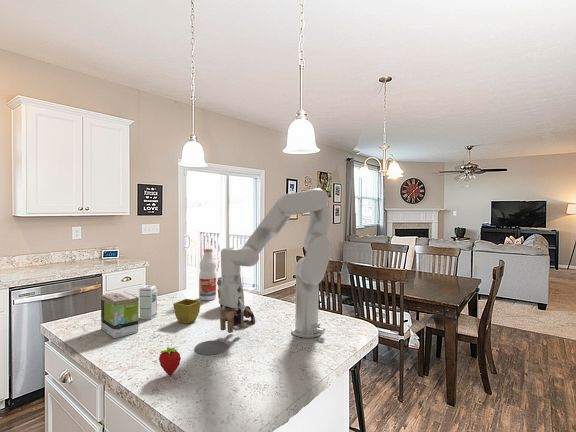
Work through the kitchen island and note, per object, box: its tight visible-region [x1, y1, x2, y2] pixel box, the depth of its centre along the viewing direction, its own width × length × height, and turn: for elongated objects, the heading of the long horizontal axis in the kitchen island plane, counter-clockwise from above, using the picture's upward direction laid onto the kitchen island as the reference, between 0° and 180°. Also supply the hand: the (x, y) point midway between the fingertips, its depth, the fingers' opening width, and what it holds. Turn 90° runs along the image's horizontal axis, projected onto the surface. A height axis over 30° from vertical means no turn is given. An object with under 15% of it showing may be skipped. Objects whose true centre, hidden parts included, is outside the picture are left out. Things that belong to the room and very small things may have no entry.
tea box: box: [100, 291, 140, 339], centre depth 139 cm, size 15×10×15 cm
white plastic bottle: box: [198, 248, 217, 302], centre depth 189 cm, size 9×9×28 cm
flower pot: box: [173, 298, 202, 324], centre depth 151 cm, size 9×9×9 cm
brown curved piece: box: [244, 305, 257, 325], centre depth 152 cm, size 12×10×8 cm
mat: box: [194, 339, 229, 356], centre depth 124 cm, size 12×12×1 cm
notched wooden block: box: [219, 307, 245, 334], centre depth 135 cm, size 6×8×8 cm
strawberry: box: [158, 344, 182, 377], centre depth 103 cm, size 6×8×10 cm
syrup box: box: [138, 284, 158, 320], centre depth 156 cm, size 6×6×14 cm
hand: (232, 322), depth 135 cm, fingers closed on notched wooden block, 6 cm apart
